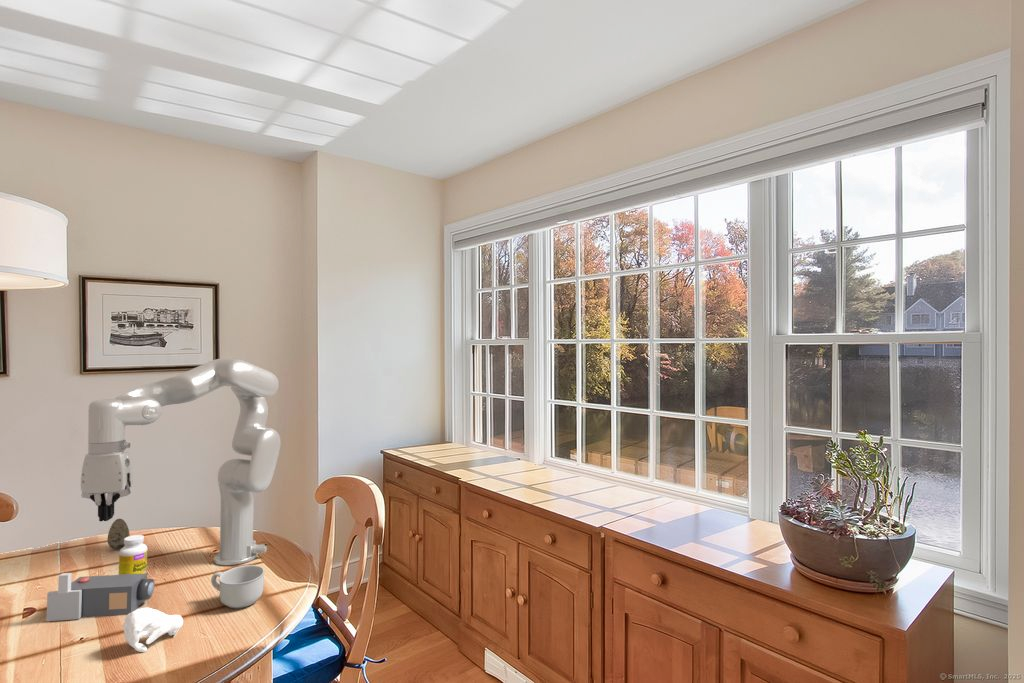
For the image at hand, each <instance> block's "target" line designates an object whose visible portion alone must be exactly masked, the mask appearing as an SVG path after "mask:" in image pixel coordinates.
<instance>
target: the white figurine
mask: <svg viewBox="0 0 1024 683" xmlns="http://www.w3.org/2000/svg"><path fill="white" fill-rule="evenodd" d="M183 625H184V619H183V617H182V615H180V614H166V613H165V612H163V611H160V610H158V609H154V608H151V607H142V608H140V607H139V608H137V609H136V610H135V611H133V612H131V613H129V614H126V616H125V618H124V622H123V624H122V628H123V632H124V633H123V634H124V638H125V641H126V643H127V644H129V645H128V646H130V647H132V648H134V650H135V651H137V652H140V653H146V652H147V651H148V648H147V646H146V645H150V644H152V643H153V642H155V641H156V640H157V639H158V638H159V637H161V636H163V635H165V634H166V633H168V636H169V637H171V636H173V637H172V638H175V636H176V635H177V634H178V632H179V630H180V629H182V627H183ZM143 637H147V639H146V641H145V644H146V645H145V644H143V643H140V642H139V641H140V639H142V638H143Z"/></svg>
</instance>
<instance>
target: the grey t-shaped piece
mask: <svg viewBox="0 0 1024 683" xmlns="http://www.w3.org/2000/svg"><path fill="white" fill-rule="evenodd" d="M71 583H72V572H65V573H63V572H62V573H60V574H59V575H58V590H51V591H48V592H47V593H46V594H47V595H46V598H47V599H46V622H54V621H55V622H56V621H69V620H70V621H71V620H80V619H81V618H82V617H81V605H82V590H71Z"/></svg>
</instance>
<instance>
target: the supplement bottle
mask: <svg viewBox="0 0 1024 683" xmlns="http://www.w3.org/2000/svg"><path fill="white" fill-rule="evenodd" d="M144 541H145V536H144V535H143V534H133V535H130V536H129V537H126V538H125V539H124V544H125V546H124V547H123V548H121V549H119V556H118V557H119V558H118V575H124V574H143V573H147V572H148V550H149V549H148V546H147V545H146V544H145V543H144ZM147 574H148V573H147Z"/></svg>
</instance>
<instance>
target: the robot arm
mask: <svg viewBox="0 0 1024 683" xmlns="http://www.w3.org/2000/svg"><path fill="white" fill-rule="evenodd" d="M279 382H280V381H279V379H278V377H277V376H276V375H275V374H274V373H273V372H271V371H269V370H267V369H265V368H262V367H261V366H257V365H255V364H253V363H250V362H247V361H246V360H243V359H239V358H237V359H236V358H217V359H212V360H210V361H208V362H206V363H203V364H201V365H198V366H196V367H193V368H192V369H189V370H187V371H184V372H182V373H180V374H178V375H175V376H171V377H167V378H164V379H161V380H158V381H154V382H150V383H148V384H144V385H141V386H138V387H136V388H134V389H131V390H129V391H126V392H125V393H122V394H120V395H118V396H116V397H115V398H114V399H113V398H111V399H109V398H108V399H98V400H94V401H91V402H90V403H89V404H88V405H89V406H88V416H87V418H88V427H87V428H88V429H87V431H88V432H87V434H88V435H87V438H88V439H87V441H88V443H87V445H88V446H87V454H85V456H84V460H83V463H82V468H81V475H80V491H81V494H80V495H81V498H83V499H90V500H92V501H93V502H94V503H95V506H97V517H98V521H99V522H103V521H104V522H108V521H110V520H111V519H113V517H114V516H115V503H116V502H117V501H118V500H119V499H120V498H124V497H128V496H129V495H130V494H131V493H132V492H131V489H130V488H132V486H133V480H134V479H133V468H132V461H131V460H132V459H131V456H130V453H129V451H128V450H127V451H126V449H130V447H131V442H126V438H125V436H126V434H125V433H126V431H125V430H126V426H145V425H146V426H147V425H150V424H152V423H154V422H156V421H157V420H158V419H159V418H160V417H161V415H162V414H163V413H162V412H163V408H162V407H165V406H171V405H179V404H185V403H191V402H194V401H196V400H198V399H200V398H202V397H203V396H207V394H210V393H211V392H214V391H216V390H218V389H219V388H223V387H230V388H231V390H232V392H233V394H234V395H235V396H236V398H237V400H238V403H239V407H240V408H239V415H238V419H237V423H236V427H235V430H234V433H233V437H232V441H231V448H232V450H233V451H234V453H236V454H239V455H244V456H248V457H249V456H250V459H245V458H231V459H229V460H226V461H225V462H223V463H222V465H221V466H220V467H219V470H218V472H217V483H218V487H219V494H220V513H219V514H220V517H219V518H220V521H219V553H217V554H216V555H214V557H213V563H215V564H217V565H219V566H236V565H241V564H245V563H248V562H251V561H253V560H255V559H256V558H257V557H258V556H259V553H267V551H268V550H267V549H268V547H267V545H265V544H257V542H256V539H255V540H254V513H255V512H254V510H255V506H254V504H255V500H254V494H253V493H261V492H263V491H265V490H266V489H267V488H268V487H269V486H270V485H271V482H272V480H273V477H274V475H275V474H274V473H275V470H276V468H277V467H276V466H277V462H278V458H279V456H280V450H281V445H282V444H281V442H282V441H281V436H280V434H279V432H278V431H277V429H276V430H275V429H274V428H271V427H267V426H266V425H267V421H268V416H269V406H268V403H267V400H266V399H268V398H270V397H273V396H274V395H275V394H276V393H277V392H278V389H279V385H280V383H279ZM106 494H107V495H106Z"/></svg>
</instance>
